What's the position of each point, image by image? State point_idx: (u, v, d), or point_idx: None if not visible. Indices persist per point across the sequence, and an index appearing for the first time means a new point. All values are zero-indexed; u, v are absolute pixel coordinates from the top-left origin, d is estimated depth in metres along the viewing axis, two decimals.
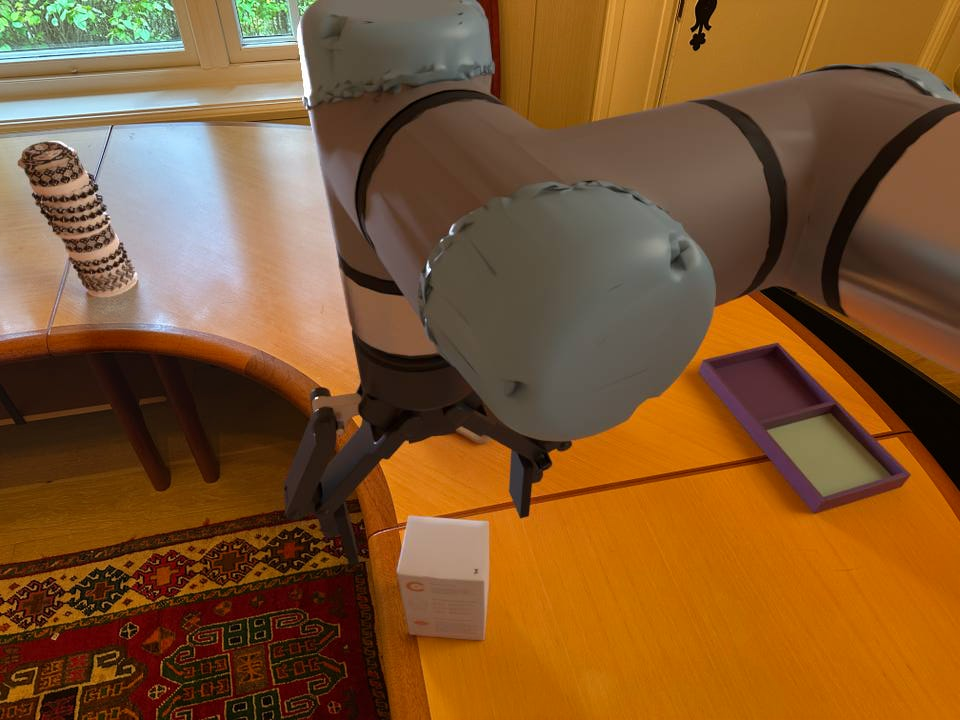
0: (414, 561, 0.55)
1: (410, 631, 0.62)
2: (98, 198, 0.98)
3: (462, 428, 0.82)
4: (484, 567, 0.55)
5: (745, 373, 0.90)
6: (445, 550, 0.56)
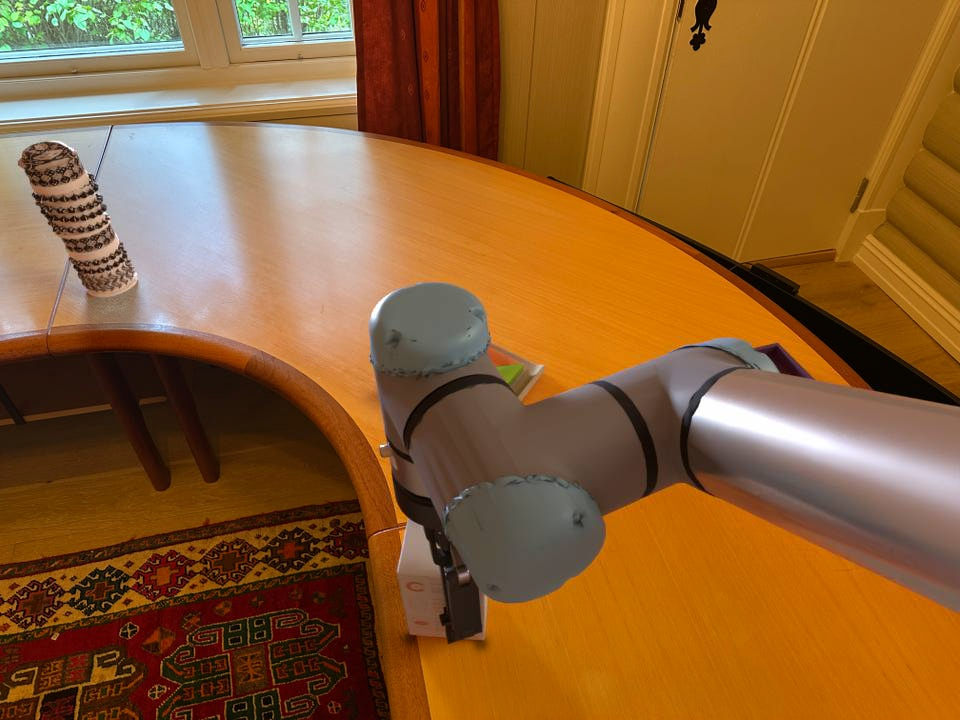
0: (414, 561, 0.55)
1: (410, 631, 0.62)
2: (98, 198, 0.98)
3: None
4: None
5: None
6: None
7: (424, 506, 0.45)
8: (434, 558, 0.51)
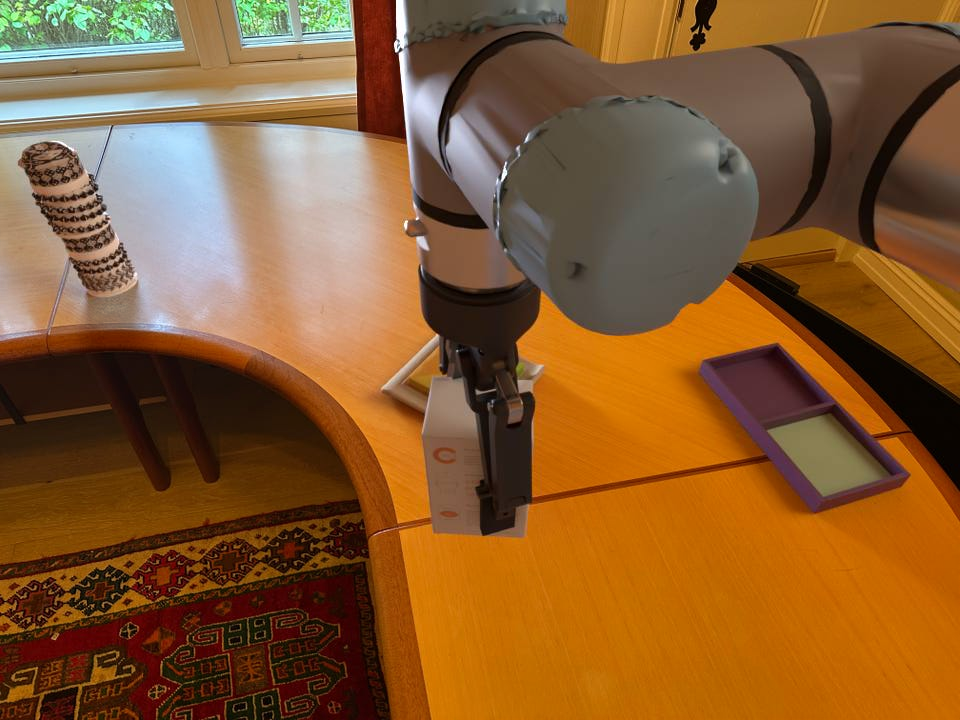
0: (444, 422, 0.44)
1: (435, 528, 0.51)
2: (98, 198, 0.98)
3: None
4: (532, 427, 0.43)
5: (745, 373, 0.90)
6: None
7: (465, 306, 0.34)
8: (472, 402, 0.40)
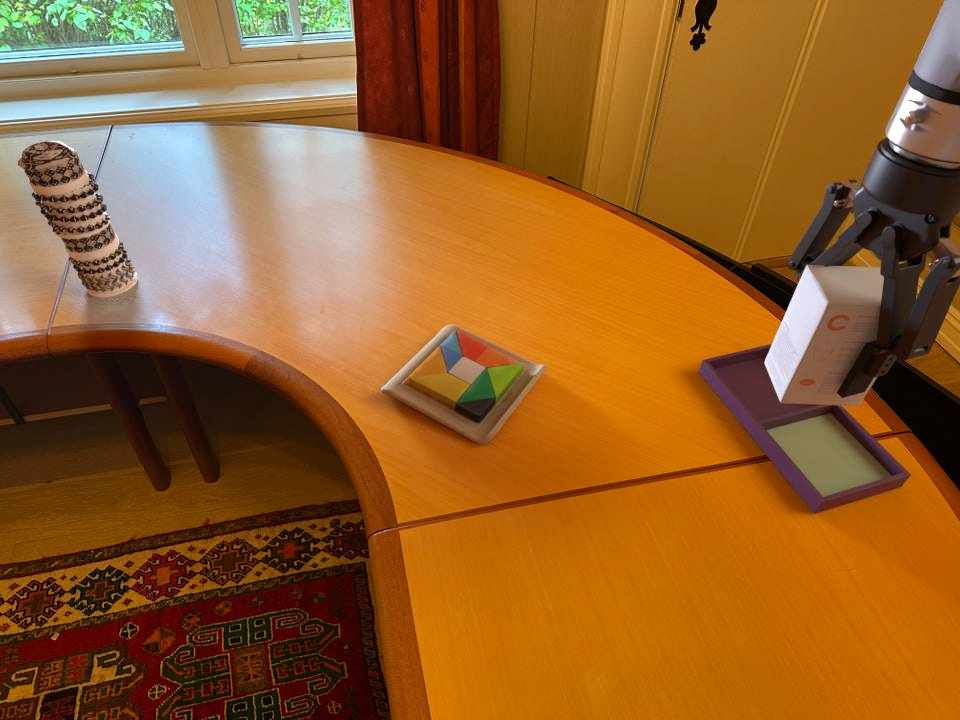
0: (840, 295, 0.54)
1: (785, 397, 0.61)
2: (98, 198, 0.98)
3: (462, 428, 0.82)
4: None
5: (745, 373, 0.90)
6: (865, 286, 0.55)
7: (946, 178, 0.44)
8: (894, 269, 0.50)
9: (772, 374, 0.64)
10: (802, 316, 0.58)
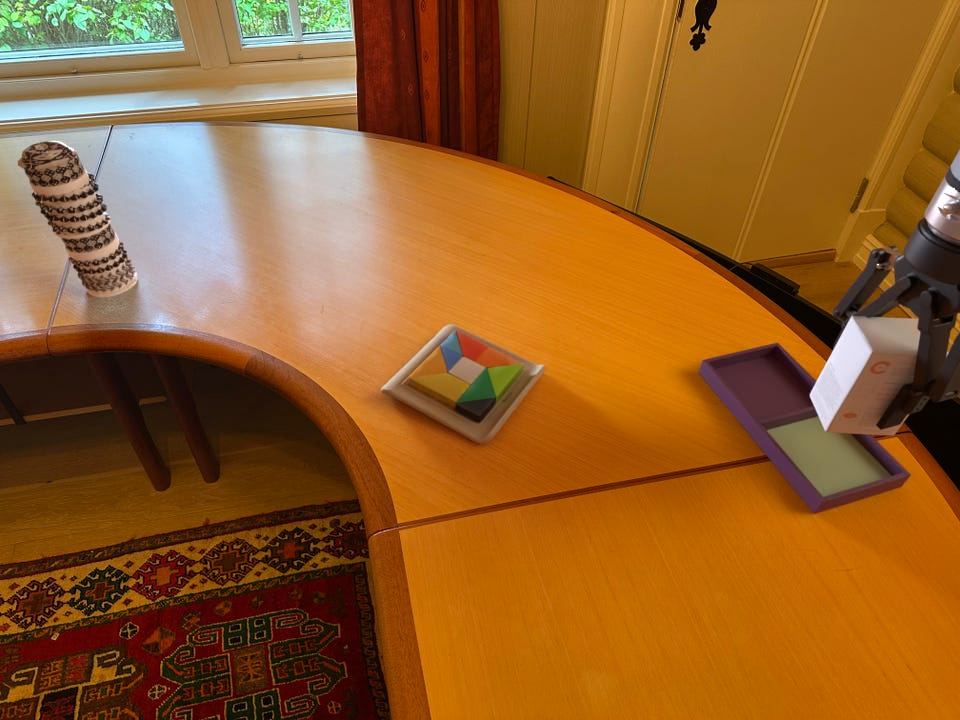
0: (882, 344, 0.64)
1: (830, 427, 0.71)
2: (98, 198, 0.98)
3: (462, 428, 0.82)
4: None
5: (745, 373, 0.90)
6: (903, 337, 0.64)
7: None
8: (930, 327, 0.60)
9: (817, 406, 0.74)
10: (848, 360, 0.67)
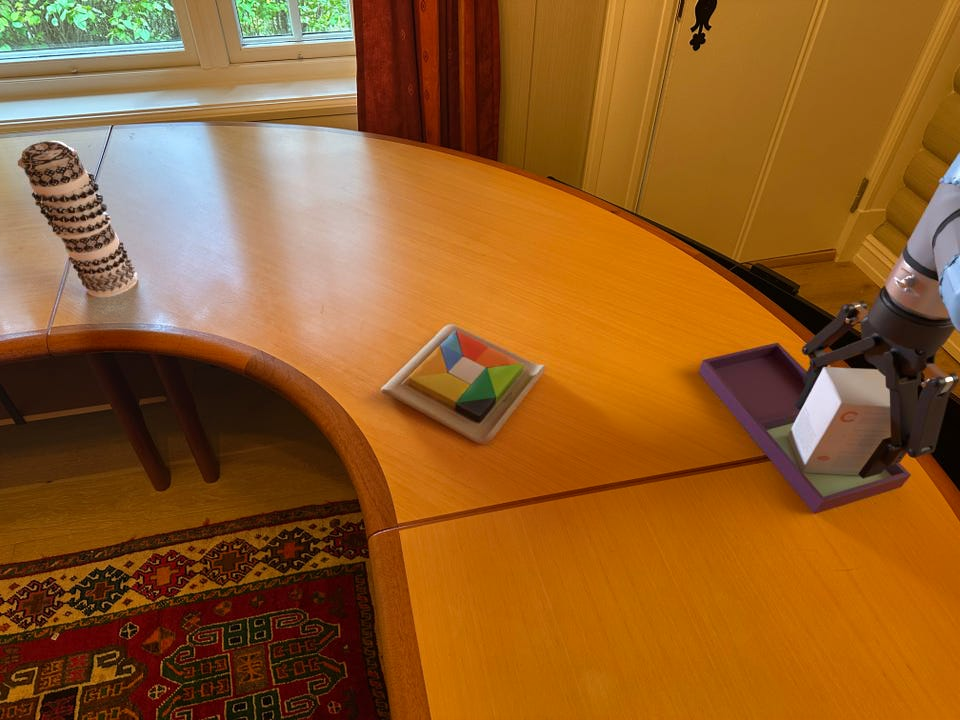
0: (850, 395, 0.69)
1: (805, 468, 0.76)
2: (98, 198, 0.98)
3: (462, 428, 0.82)
4: None
5: (745, 373, 0.90)
6: (870, 388, 0.70)
7: (930, 327, 0.59)
8: (896, 384, 0.65)
9: (794, 447, 0.79)
10: (820, 407, 0.73)
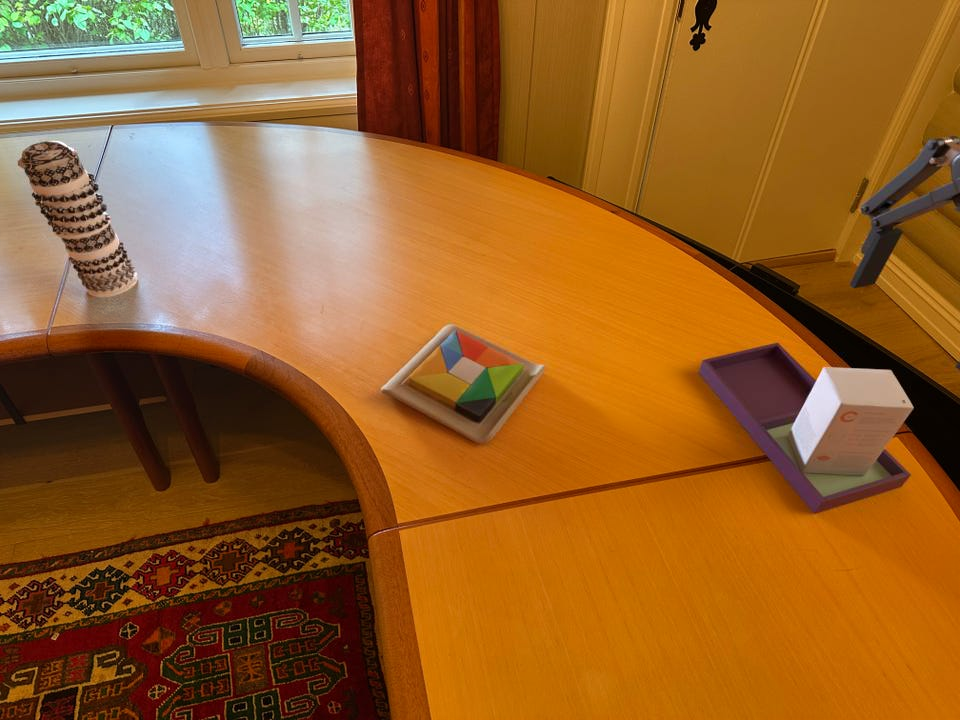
0: (850, 395, 0.69)
1: (805, 468, 0.76)
2: (98, 198, 0.98)
3: (462, 428, 0.82)
4: (908, 399, 0.69)
5: (745, 373, 0.90)
6: (870, 388, 0.70)
7: None
8: None
9: (794, 447, 0.79)
10: (820, 407, 0.73)
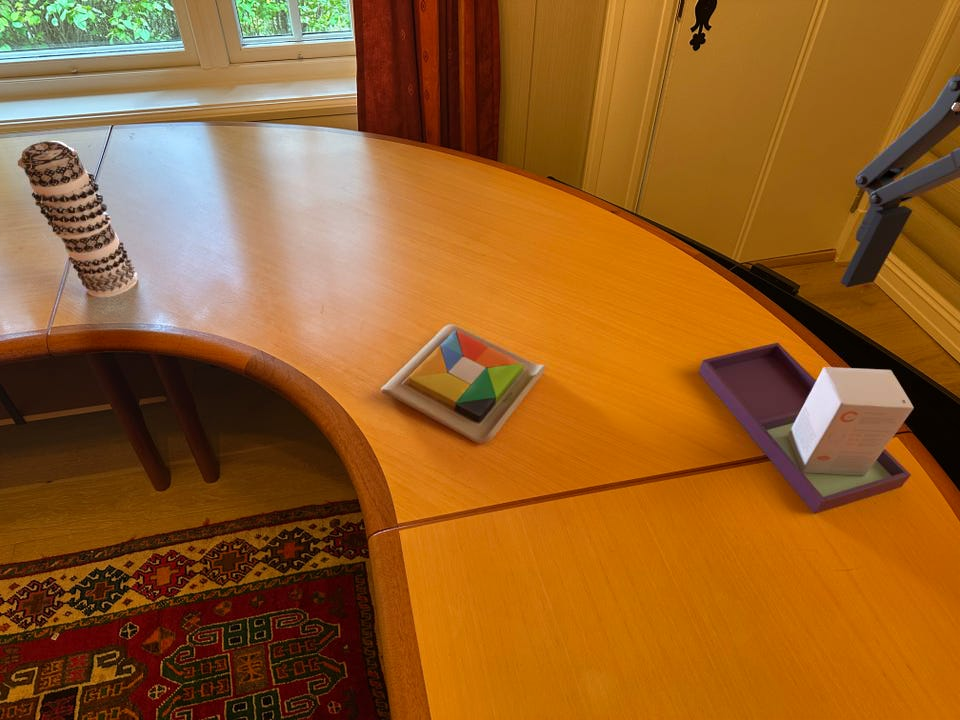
0: (850, 395, 0.69)
1: (805, 468, 0.76)
2: (98, 198, 0.98)
3: (462, 428, 0.82)
4: (908, 399, 0.69)
5: (745, 373, 0.90)
6: (870, 388, 0.70)
7: None
8: None
9: (794, 447, 0.79)
10: (820, 407, 0.73)
